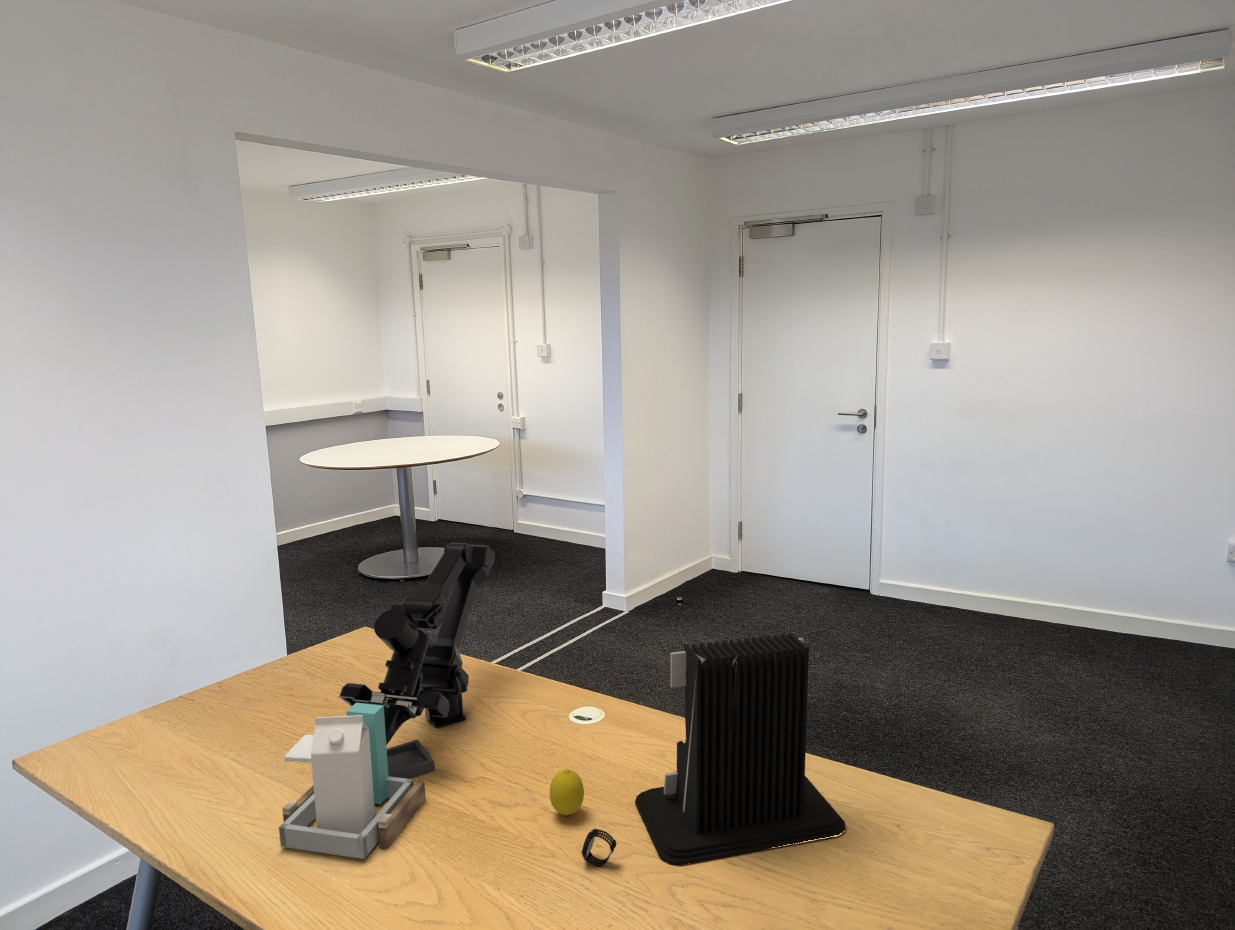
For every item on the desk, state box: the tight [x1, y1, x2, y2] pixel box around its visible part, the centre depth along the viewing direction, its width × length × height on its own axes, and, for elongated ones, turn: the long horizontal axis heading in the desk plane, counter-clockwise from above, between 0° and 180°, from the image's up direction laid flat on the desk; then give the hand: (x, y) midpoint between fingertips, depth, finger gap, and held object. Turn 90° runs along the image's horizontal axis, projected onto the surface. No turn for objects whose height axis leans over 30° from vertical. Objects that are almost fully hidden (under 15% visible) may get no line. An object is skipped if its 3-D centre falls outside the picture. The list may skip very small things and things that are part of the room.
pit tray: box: [387, 739, 436, 779], centre depth 145 cm, size 9×9×2 cm
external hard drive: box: [284, 734, 314, 763], centre depth 150 cm, size 2×8×12 cm
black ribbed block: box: [634, 632, 847, 866], centre depth 127 cm, size 30×19×30 cm, turn 104°
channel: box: [282, 779, 427, 850], centre depth 130 cm, size 13×18×4 cm
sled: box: [278, 703, 414, 860], centre depth 127 cm, size 16×14×16 cm
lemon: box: [549, 768, 585, 817], centre depth 129 cm, size 6×6×8 cm
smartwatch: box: [581, 828, 617, 868], centre depth 118 cm, size 4×5×5 cm
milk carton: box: [310, 715, 376, 834], centre depth 126 cm, size 7×7×19 cm
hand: (379, 749), depth 137 cm, fingers closed
